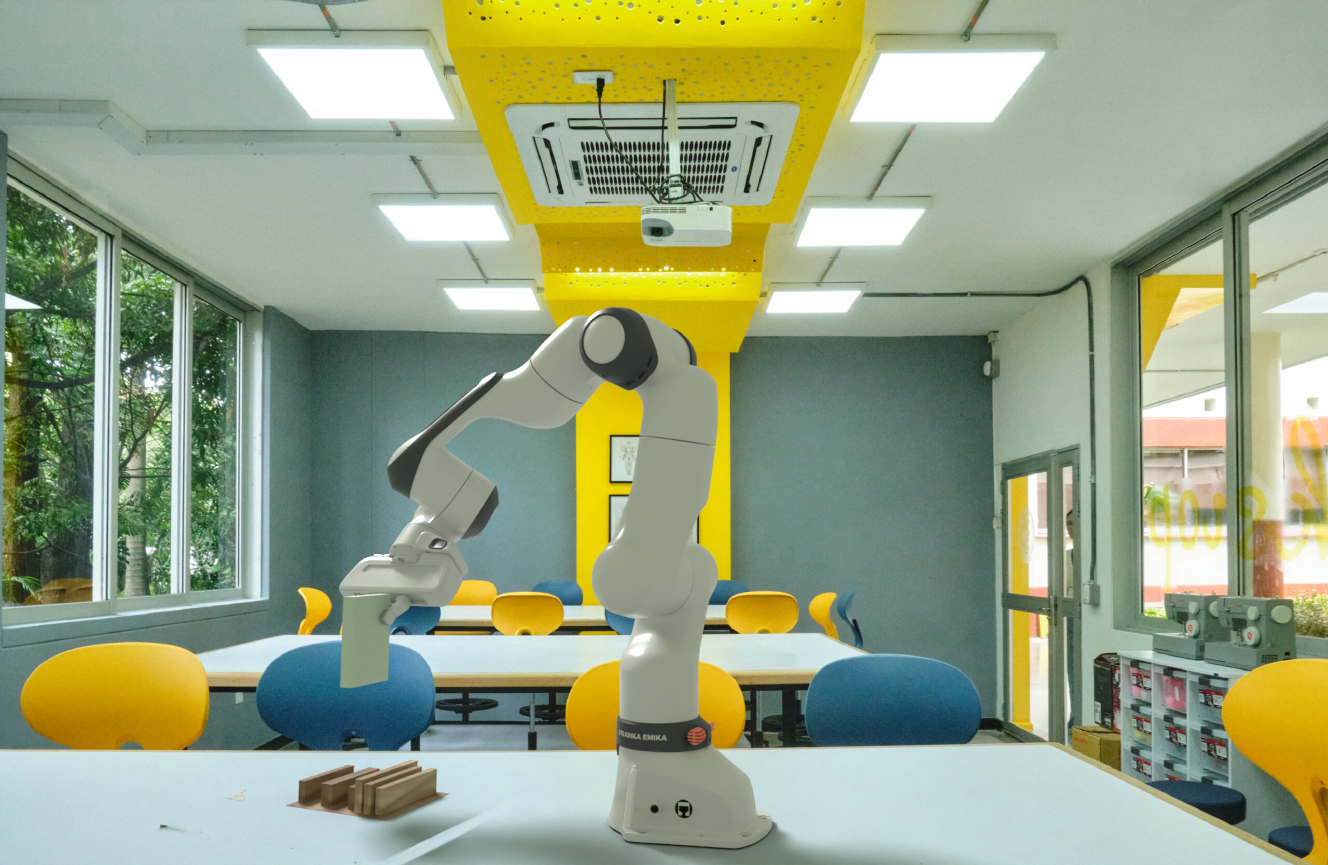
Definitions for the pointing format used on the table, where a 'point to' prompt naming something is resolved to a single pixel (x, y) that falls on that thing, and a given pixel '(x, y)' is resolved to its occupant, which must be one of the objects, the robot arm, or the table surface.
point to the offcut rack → (369, 790)
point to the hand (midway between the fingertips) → (375, 622)
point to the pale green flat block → (364, 640)
